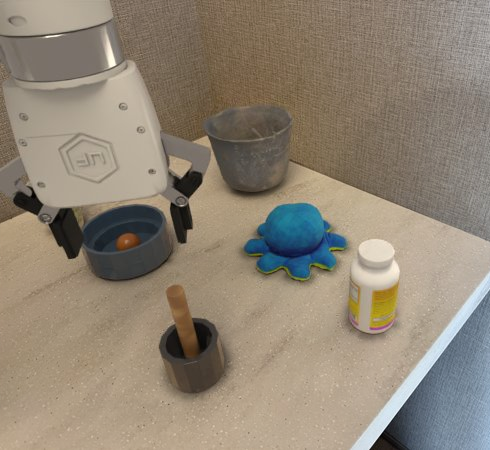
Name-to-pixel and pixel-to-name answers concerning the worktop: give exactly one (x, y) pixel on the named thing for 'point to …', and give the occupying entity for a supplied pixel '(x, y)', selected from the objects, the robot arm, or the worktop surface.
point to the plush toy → (295, 241)
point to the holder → (193, 358)
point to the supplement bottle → (373, 287)
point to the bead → (127, 241)
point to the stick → (183, 320)
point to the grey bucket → (251, 145)
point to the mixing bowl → (116, 224)
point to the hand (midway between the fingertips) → (130, 242)
